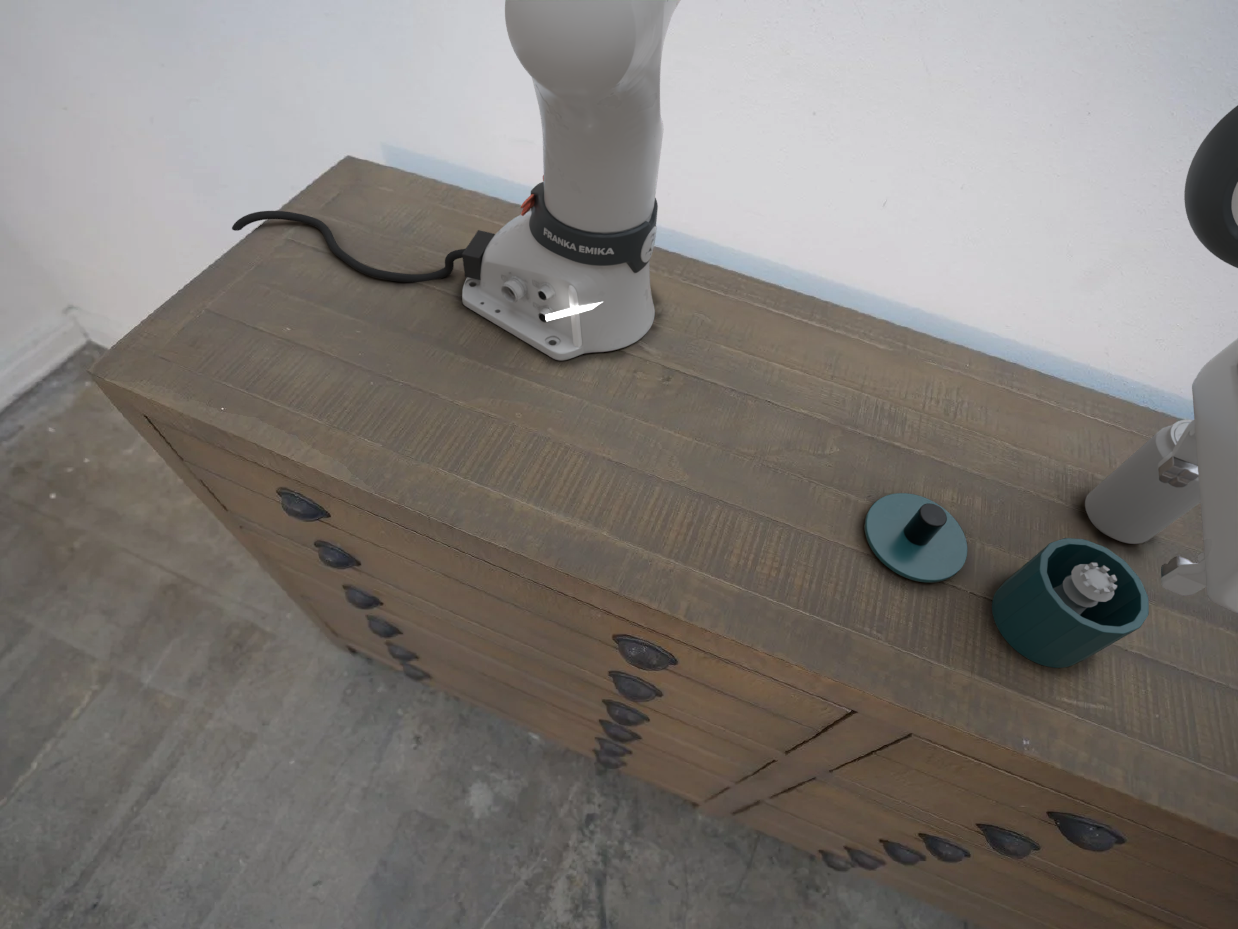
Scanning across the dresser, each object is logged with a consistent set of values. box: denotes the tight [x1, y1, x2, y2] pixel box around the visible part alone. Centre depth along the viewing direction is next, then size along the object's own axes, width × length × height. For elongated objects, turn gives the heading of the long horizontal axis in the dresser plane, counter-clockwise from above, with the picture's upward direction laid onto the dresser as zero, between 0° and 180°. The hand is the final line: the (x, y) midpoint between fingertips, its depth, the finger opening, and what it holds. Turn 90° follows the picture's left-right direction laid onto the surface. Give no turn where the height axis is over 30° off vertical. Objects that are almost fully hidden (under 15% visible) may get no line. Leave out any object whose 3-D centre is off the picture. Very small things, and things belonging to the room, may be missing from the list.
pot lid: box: [864, 492, 968, 584], centre depth 61 cm, size 9×9×5 cm
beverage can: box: [1084, 419, 1201, 545], centre depth 62 cm, size 6×6×12 cm
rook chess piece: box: [1053, 563, 1117, 615], centre depth 56 cm, size 4×4×8 cm
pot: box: [991, 537, 1150, 669], centre depth 56 cm, size 8×8×8 cm
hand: (1169, 527), depth 46 cm, fingers open, 8 cm apart
